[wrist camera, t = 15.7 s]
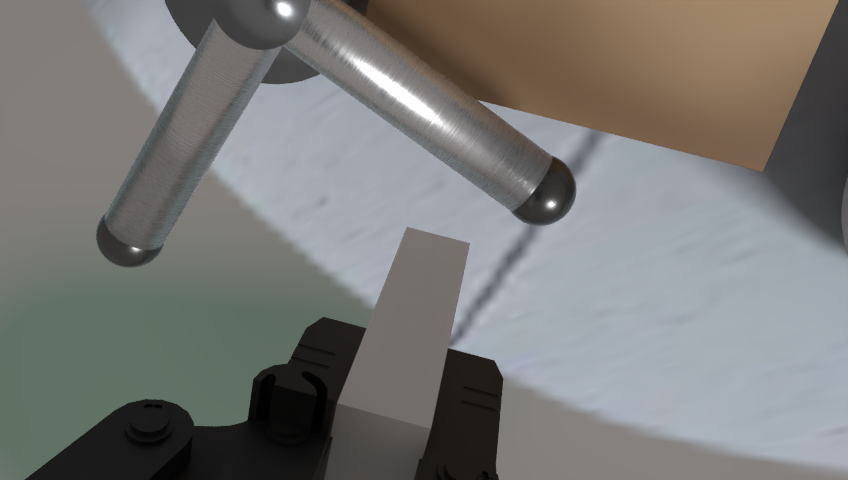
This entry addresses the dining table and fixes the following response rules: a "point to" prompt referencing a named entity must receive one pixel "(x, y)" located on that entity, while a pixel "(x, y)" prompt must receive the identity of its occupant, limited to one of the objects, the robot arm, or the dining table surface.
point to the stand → (627, 63)
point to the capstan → (296, 61)
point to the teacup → (845, 215)
